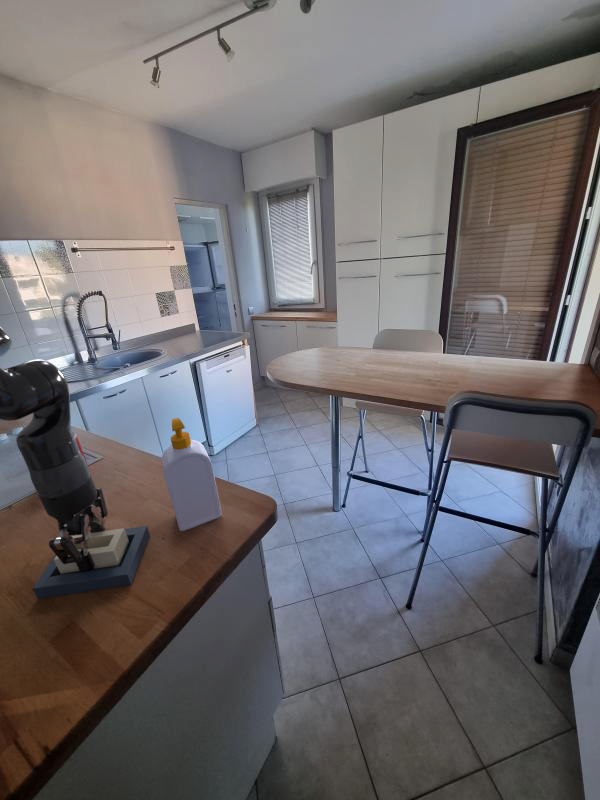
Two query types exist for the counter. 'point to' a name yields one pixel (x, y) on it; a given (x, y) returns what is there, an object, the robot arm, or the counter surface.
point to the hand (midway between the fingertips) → (95, 555)
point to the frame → (100, 550)
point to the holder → (95, 571)
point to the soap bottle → (190, 480)
